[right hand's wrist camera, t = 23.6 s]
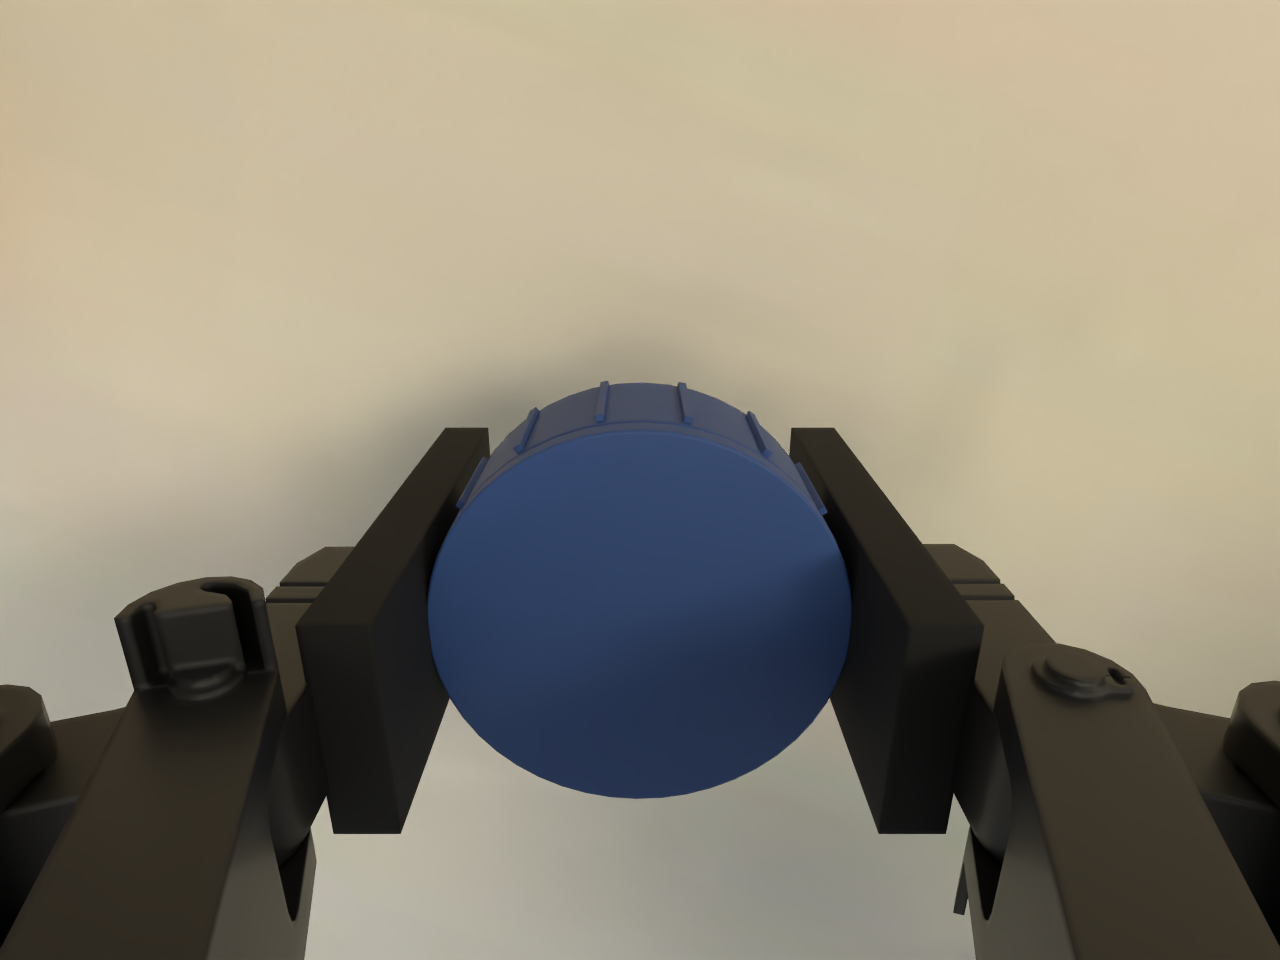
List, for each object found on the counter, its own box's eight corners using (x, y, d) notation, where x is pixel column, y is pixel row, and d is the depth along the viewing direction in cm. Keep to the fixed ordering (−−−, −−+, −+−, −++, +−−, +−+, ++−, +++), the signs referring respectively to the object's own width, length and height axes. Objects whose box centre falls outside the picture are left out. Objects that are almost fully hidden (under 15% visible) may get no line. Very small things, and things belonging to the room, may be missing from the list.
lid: (397, 458, 12) (342, 522, 9) (752, 321, 11) (779, 357, 9) (548, 739, 13) (531, 845, 11) (860, 639, 13) (904, 733, 11)
